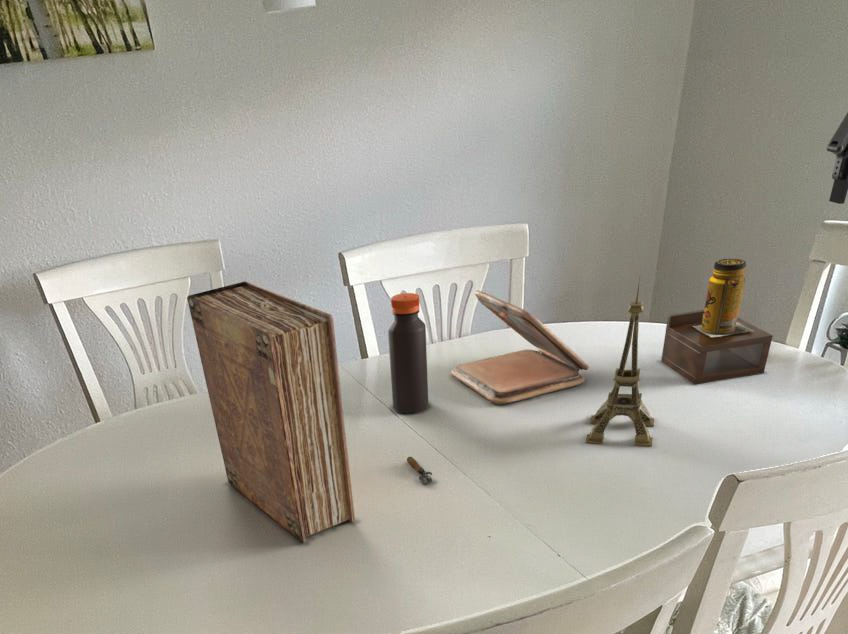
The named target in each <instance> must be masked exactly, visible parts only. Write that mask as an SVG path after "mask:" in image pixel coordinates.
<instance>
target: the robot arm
mask: <svg viewBox="0 0 848 634" xmlns="http://www.w3.org/2000/svg"><path fill="white" fill-rule="evenodd" d="M826 151H827V152H828V153H832V154H833V155H836V156H835V157H836V158H835V161H834V167H833V169H832V174H831V179H832V180H833V183H832V188H831V192H830V196H829V200H828V202H832V203H834V204H839V205H843V204H845V202H846V198H847V194H848V112H846V114H845V116H844V117H843V119H842V121H841V123H840V124H839V126H838V127H837V129H836V131H835V133H833V136H832V137H831V139H830V141H829V142H828V144H827V146H826Z"/></svg>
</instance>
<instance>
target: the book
mask: <svg viewBox="0 0 848 634" xmlns="http://www.w3.org/2000/svg"><path fill="white" fill-rule="evenodd" d="M186 299H187V303H188V304H187V305H188V309H189V312H190V316H191V322H192V326H193V330H194V336H195V339H196V344H197V348H198V354H199V357H200V361H201V362H200V363H201V367H202V371H203V376H204V379H205V385H206V388H207V392H208V398H209V402H210V406H211V410H212V416H213V420H214V424H215V429H216V433H217V438H218V442H219V447H220V450H221V456H222V460H223V464H224V470H225V473H226V478H227V482H228V484H229V485H230V486H232V487H233V488H234V489H235V490H236V491H237V492H238V493H240V494H241V495H243V497H245V498H247V500H249V501H250V502H251V503H252V504H253V505H254V506H256V507H257V508H258V509H259V510H261V511H262V512H263V513H264V514H266V515H267V516H268V517H269V518H270V519H271V520H273V521H274V522H275V523H277V524H278V525H279V526H280V527H281V528H283V529H284V530H285V531H286V532H287V533H289V534H290V535H291V536H292V537H293V538H295V540H297V541H298V542H300V543H301V544H302V545H304V544H306V542H307V540H306V538H307V537H308V538H309V537H310V536H313V535H315V534H317V533H320V532H323V531H324V530H328V529H330V528H332V527H334V526H337V525H340V524H343V523H344V522H347V521H348V522H350V523H354V522H355V521H356V519H355V518H356V517H355V510H354V508H355V507H354V499H353V491H352V481H351V471H350V462H349V453H348V445H347V436H346V435H347V433H346V426H345V425H346V424H345V417H344V416H345V415H344V408H343V399H342V398H343V397H342V388H341V380H340V379H341V378H340V370H339V361H338V353H337V352H338V351H337V342H336V333H335V323H334V318H333V315H332V314H331V313H328V312H326V311H323V310H320V309H318V308H316V307H312V306H310V305H308V304H305V303H302V302H300V301H297V300H294V299H292V298H289V297H287V296H284V295H281V294H279V293H276V292H274V291H271V290H269V289H267V288H264V287H261V286H258V285H256V284H253V283H250V282H248V281H240V282H236V283H233V284H229V285H225V286H220V287H217V288H213V289H210V290H206V291H202V292H197V293H194V294H190V295H188V296H187V297H186Z"/></svg>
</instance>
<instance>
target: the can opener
mask: <svg viewBox="0 0 848 634" xmlns="http://www.w3.org/2000/svg"><path fill="white" fill-rule="evenodd" d="M406 462H407V463H408V464H409V465H410V466H411V468H413V469H414V470H415V471H416V472H417V473H418V474H419V476H418V480H419V482H421V483H423V484H426V485H427V484H429V483H432V482H433V478H432V477H431V476H433V473H432V472H431V471H425V469H424V468H423V467H422V466H421V465H420V464H419V462H418V461H417V459H415V458H414V457H412V456H408V457H407V458H406Z"/></svg>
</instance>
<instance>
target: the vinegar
mask: <svg viewBox="0 0 848 634" xmlns="http://www.w3.org/2000/svg"><path fill="white" fill-rule="evenodd" d="M390 303H391V312H392V315H393V319H392V321H391V322H390V323H389V324H388V327H387V336H388V337H387V338H388V352H389V353H388V354H389V366H390V369H389V370H390V381H391V382H390V383H391V396H392V397H391V398H392V408H393V409H394V410H395V412H397V413H400V414H408V415H409V414H417V413H420V412H423V411H425V410H426V409H428V407H429V382H428V381H429V380H428V379H429V378H428V357H427V355H428V354H427V353H428V352H427V330H426V328H427V327H426V324H425V323H426V322H424V321H423V320H422V319H421V318H420V317H419V313H420V295H419V294H417V293H414V292H404V293H403V292H402V293H397V294H394V295H393V296H391V298H390Z"/></svg>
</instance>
